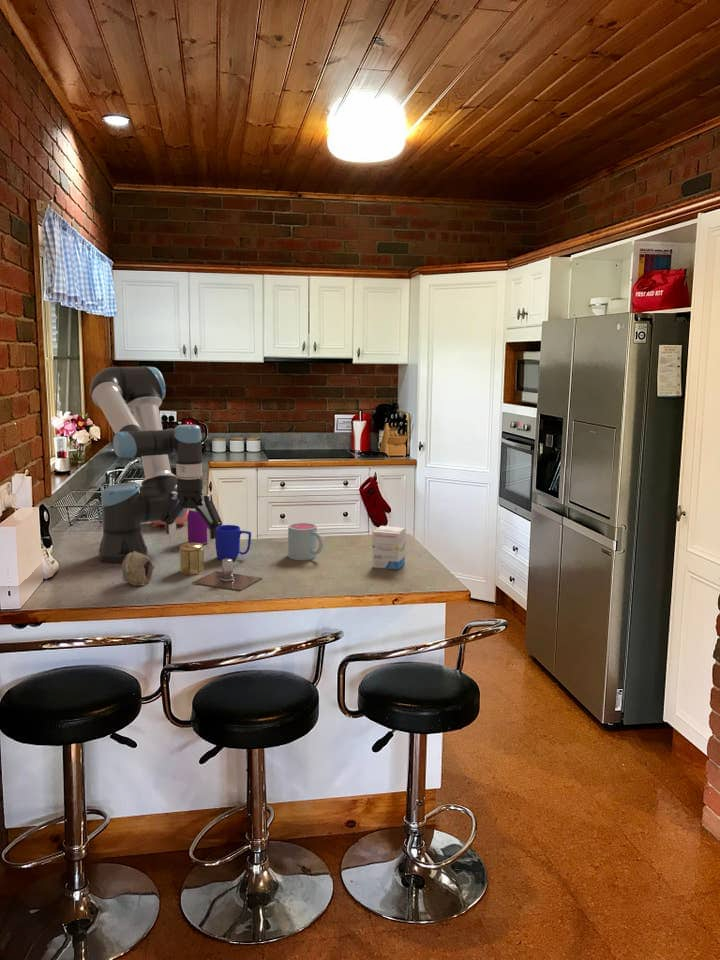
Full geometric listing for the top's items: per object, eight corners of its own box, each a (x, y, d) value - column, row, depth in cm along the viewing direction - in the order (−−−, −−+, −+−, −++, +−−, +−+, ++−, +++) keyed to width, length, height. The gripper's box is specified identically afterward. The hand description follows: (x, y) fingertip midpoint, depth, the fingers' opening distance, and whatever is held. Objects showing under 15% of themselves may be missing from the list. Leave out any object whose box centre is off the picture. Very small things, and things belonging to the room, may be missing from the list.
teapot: (191, 529, 283) (190, 493, 281) (144, 532, 278) (142, 495, 276) (188, 519, 298) (187, 485, 296) (143, 522, 294) (142, 487, 291)
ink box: (405, 563, 244) (406, 527, 241) (398, 570, 236) (398, 533, 234) (379, 560, 246) (380, 524, 244) (371, 567, 238) (372, 530, 236)
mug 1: (246, 563, 241) (246, 532, 239) (210, 560, 243) (209, 530, 242) (255, 556, 249) (255, 526, 247) (220, 553, 251) (219, 524, 250)
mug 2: (282, 556, 250) (282, 526, 248) (303, 550, 256) (303, 521, 254) (311, 564, 240) (311, 533, 239) (332, 558, 247) (332, 528, 245)
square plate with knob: (192, 583, 220) (191, 562, 219) (215, 572, 231) (215, 551, 230) (240, 590, 214) (240, 568, 213) (261, 579, 225) (261, 557, 224)
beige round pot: (128, 595, 217) (116, 566, 212) (124, 582, 224) (113, 553, 220) (160, 582, 219) (149, 553, 215) (156, 569, 227) (144, 541, 222)
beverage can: (209, 539, 270) (208, 505, 268) (212, 544, 263) (211, 510, 260) (186, 540, 267) (185, 506, 265) (189, 546, 260) (188, 511, 258)
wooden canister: (173, 573, 229) (172, 547, 228) (191, 565, 238) (190, 540, 236) (192, 576, 227) (192, 550, 225) (209, 568, 235) (209, 543, 234)
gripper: (146, 476, 228) (150, 545, 232) (218, 481, 219) (220, 554, 222) (162, 472, 235) (165, 540, 239) (232, 478, 226) (234, 548, 229)
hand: (192, 547), depth 230 cm, fingers open, 13 cm apart
